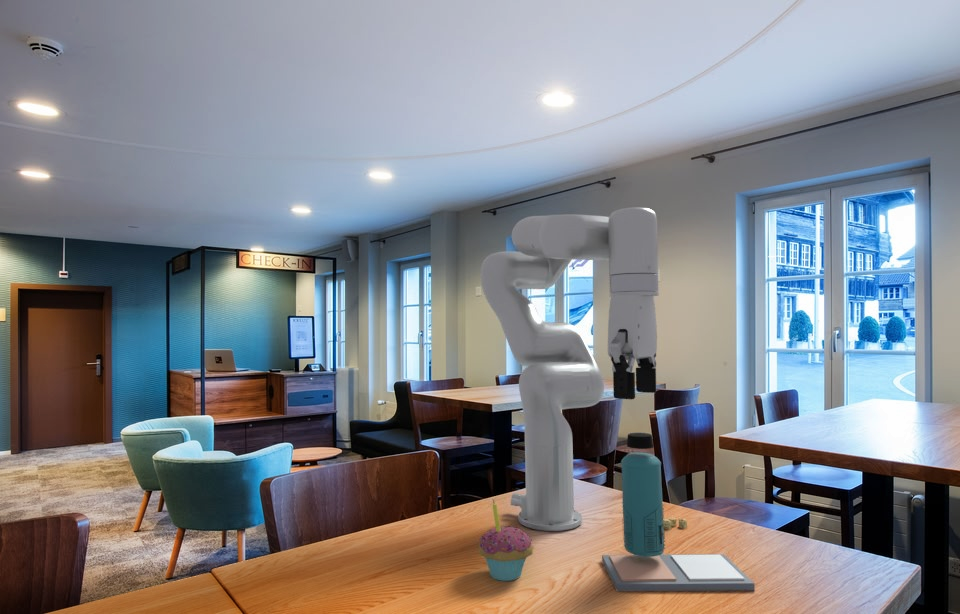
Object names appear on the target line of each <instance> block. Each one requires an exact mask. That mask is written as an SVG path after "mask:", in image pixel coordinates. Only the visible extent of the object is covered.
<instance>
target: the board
mask: <svg viewBox="0 0 960 614" xmlns="http://www.w3.org/2000/svg"><path fill="white" fill-rule="evenodd" d="M601 560H602V561H601V562H602V564H603V565H604V568H605V570H606V572H607V574H608V577H609V578H610V580H611V582H612V583H613V586H614V588H615V590H616V592H681V591H682V592H687V591H688V592H689V591H690V592H693V591H698V592H702V591H704V592H705V591H706V592H707V591H709V592H710V591H715V592H717V591H718V592H719V591H755V589H756V587H755V582H754V581H753V580H751V578H750V577H748V576H747V575H746V574H745V573H744V572H743V571H742V570H741V569H740V568H739V567H738V566H737V565H736V564H735V563H734V562H733V561H732V560H731V559H730V558H729V557H728V556H726V555H725V553H707V554H706V553H697V554H696V553H695V554H693V553H692V554H690V553H688V554H687V553H684V554H683V553H682V554H681V553H680V554H675V553H674V554H669V553H668V554H661V555H658V556H653V557H644V556H638V555H634V554H602V555H601Z"/></svg>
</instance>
